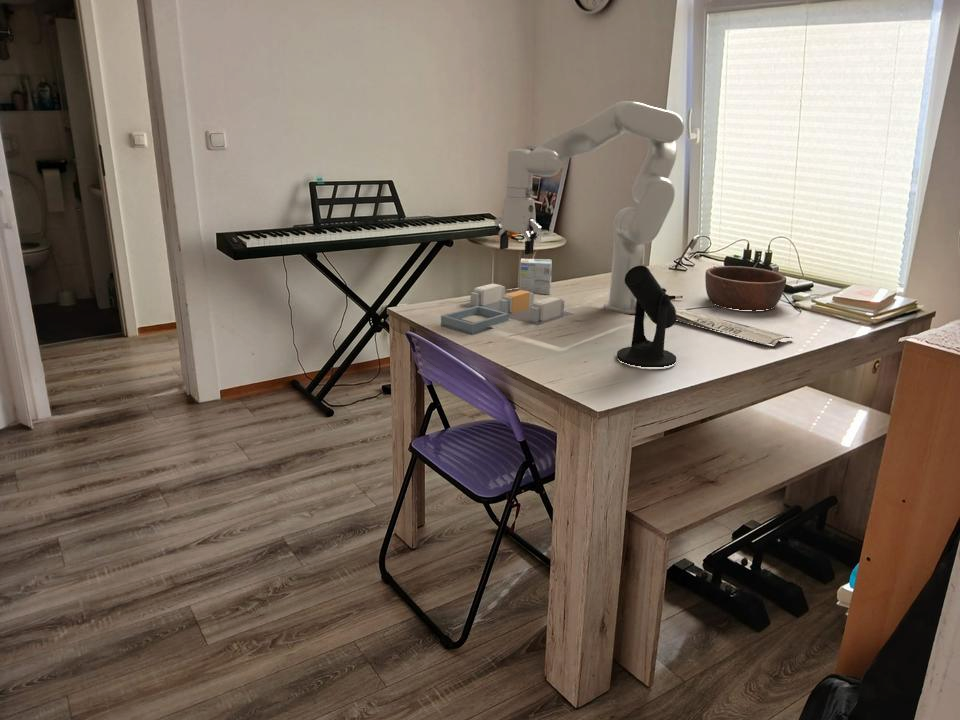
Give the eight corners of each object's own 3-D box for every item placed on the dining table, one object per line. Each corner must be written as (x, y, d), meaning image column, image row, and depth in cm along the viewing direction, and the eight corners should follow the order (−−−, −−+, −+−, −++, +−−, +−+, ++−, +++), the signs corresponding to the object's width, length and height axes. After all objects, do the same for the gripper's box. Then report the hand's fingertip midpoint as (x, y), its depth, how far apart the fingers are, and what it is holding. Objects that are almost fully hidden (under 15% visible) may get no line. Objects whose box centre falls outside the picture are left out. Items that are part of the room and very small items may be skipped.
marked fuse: (530, 307, 238) (531, 291, 236) (510, 313, 231) (511, 297, 229) (522, 305, 240) (522, 289, 239) (501, 311, 233) (502, 295, 231)
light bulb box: (550, 290, 264) (552, 259, 260) (550, 295, 258) (552, 263, 254) (519, 288, 265) (520, 257, 261) (518, 293, 258) (519, 261, 255)
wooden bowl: (749, 293, 268) (753, 264, 264) (798, 312, 245) (804, 280, 242) (687, 297, 260) (690, 267, 257) (732, 317, 238) (736, 284, 234)
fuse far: (502, 300, 245) (502, 285, 243) (481, 306, 238) (482, 290, 236) (493, 298, 247) (494, 283, 246) (473, 303, 240) (473, 288, 238)
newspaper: (792, 343, 216) (794, 331, 214) (769, 352, 208) (771, 339, 206) (684, 315, 240) (685, 304, 239) (660, 322, 232) (662, 310, 231)
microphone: (600, 357, 198) (608, 261, 189) (647, 347, 207) (657, 255, 199) (643, 375, 186) (653, 273, 178) (690, 362, 196) (702, 266, 188)
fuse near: (561, 314, 231) (562, 298, 229) (541, 321, 224) (542, 304, 222) (551, 312, 233) (552, 296, 232) (531, 318, 226) (532, 302, 224)
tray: (508, 323, 224) (509, 313, 223) (472, 335, 213) (472, 324, 212) (477, 315, 232) (478, 305, 231) (440, 325, 220) (441, 315, 219)
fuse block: (573, 316, 233) (574, 300, 231) (537, 328, 220) (538, 311, 219) (497, 298, 252) (498, 283, 250) (460, 308, 239) (460, 292, 237)
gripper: (550, 195, 222) (546, 254, 227) (504, 189, 233) (502, 245, 238) (533, 197, 216) (530, 257, 222) (488, 190, 227) (486, 248, 233)
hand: (516, 251), depth 230 cm, fingers open, 9 cm apart
